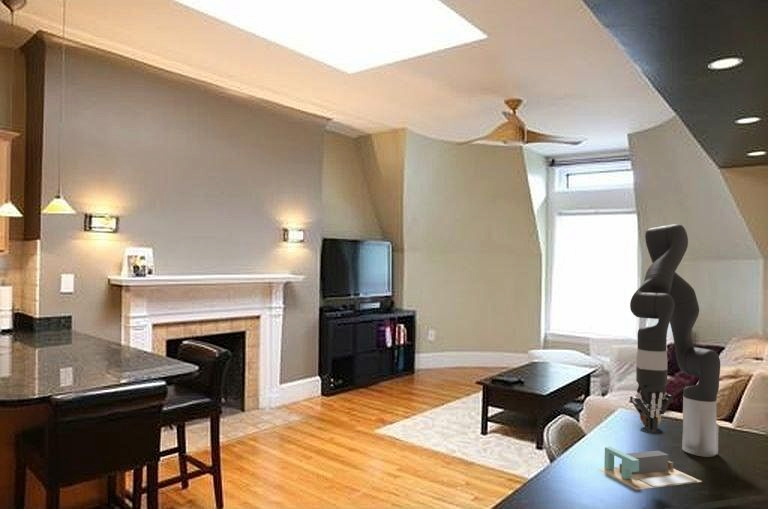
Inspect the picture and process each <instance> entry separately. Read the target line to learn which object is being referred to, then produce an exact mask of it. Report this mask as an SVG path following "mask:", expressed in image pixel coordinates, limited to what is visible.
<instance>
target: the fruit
mask: <svg viewBox="0 0 768 509" xmlns="http://www.w3.org/2000/svg"><path fill="white" fill-rule="evenodd" d="M637 412H638V411H637ZM648 412H649V409H648ZM638 413H639V412H638ZM639 418H640V420H641V422H642V424H643V426H644V427H645V415H643V414H640V413H639ZM661 421H662V414H661V415H659V417H658V426H659V425H660V423H661Z"/></svg>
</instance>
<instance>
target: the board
mask: <svg viewBox="0 0 768 509" xmlns="http://www.w3.org/2000/svg"><path fill="white" fill-rule="evenodd" d="M598 470H599V471H601V472H603V473H605V475H608V476H610V477H612V478H614V479H616V480H618V481H620V482H621V483H623V484H625V485H627V486H628V487H630V488H632V489H635V490H636V491H638V490H644V489H645V490H646V489H647V490H648V489H653V488H654V489H655V488H661V487H670V486H678V485H685V484H687V485H688V484H693V483H702V482H703V481H702V480H700V479H697V478H695V477H693V476H691V475H689V474H687V473H685V472H682V471H680V470H677V469H676V468H674V462H673V461H670V460H668V471H662V472H653V473H644V474H636V475H634V474H632V478H630V479H625V478H623V477H621V475H622V462H621V463H619V466H614V469H612V470H608V469H606V468H598Z"/></svg>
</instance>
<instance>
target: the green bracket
mask: <svg viewBox="0 0 768 509" xmlns="http://www.w3.org/2000/svg"><path fill="white" fill-rule="evenodd" d="M627 454H628V453H625V452H623V451H621V450H618V449H617V448H614V447H612V446H605V447H604V465H603V466H604V468H606V469H608V470H612V469H614V467H615V457H617V458H619V459H620V460H621V463H622V475H621V477H623V478H625V479H630V478H632V472H638V471H639V460H638V459H636V458H634V457H632V456H630V455H627ZM604 468H603V469H604Z"/></svg>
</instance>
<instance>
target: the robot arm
mask: <svg viewBox="0 0 768 509" xmlns="http://www.w3.org/2000/svg"><path fill="white" fill-rule="evenodd" d="M644 234H645V235H644V239H645V240H644V241H645V245H646V247H647V248H646V249H647V252H648V254H649V257H650V260H651V263H652V264H651V265H649V267H648V268H647V270H646V273H645V276H644V279H643V283H642V284H641V285H640V286H639V287H638V289H636V291H635V292H634V293H633V295H632V297H631V299H630V302H629V308H630V311H631V313H632V314H633V315H634V316H635V317H636V318H640V319H641V318H642V319H651V320H652V319H654V320H655V319H656V320H657V323H656V324H655V325H652V326H651V325H650V326H643V327H639V328H638V330H637V351H636V362H635V363H636V367H635V369H636V371H635V372H636V374H635V375H636V376H635V377H636V378H635V380H636V383H637V385H638V387H637V390H636V394H635V395H634V396H632V395H631V396H630V397H629V400H630V402H631V403H632V404H633V406H634V408H635V409H636V411H637V412H639V413H640V414H643V415H645V426H644V427H645V429H646V431H649V432H653V433H654V432H657V430H658V426H659V425H658V417H659V415H661V416H662V415H665V412H666V411H667V410H668V407H669V406H670V404H671V402H672V401H673V398H674V397H673V395H671V394H669V393H667V389H666V386H667V385H668V354H667V353H668V352H667V337H668V330H669V325H670V328H671V329H670V330H671V333H672V337H673V342H674V349H675V356H676V361H677V365H678V367H679V370H680V371H681V372H682V373H684V374H686V375H688V376H692V377H697V378H698V381H697V382H698V383H696V384H694V385H688V386H685V387H683V392H682V395H683V396H682V398H683V399H682V436H681V437H682V444H681V446H682V447H681V449H682V451H683V452H686V453H688V454H690V455H694V456H699V457H704V458H712V457H715V456H717V455H719V423H717V399H718V398H717V397H718V393H719V389H720V375H721V358H720V356H719V354H718V352H717V351H715V350H713V349H708V348H701V347H696V346H695V345H694V342H693V339H692V331H693V327H695V323H696V322H697V319H698V318H699V314H700V306H699V301H698V298H697V296H696V295H697V294H696V291H695V290H694V288H693V287H692V285H691V284H689V282H687V281H686V280H685V279H684V278H683V277H682V276H680V275H679V274H678V273H677V272H676V270H677V269H678V267H679V265H680V263H681V262H682V260H683V258H684V256H685V254H686V252H687V250H688V246H689V239H688V238H689V237H688V233H687V231H686V228H685V227H684V225H682V224H679V223H676V224H674V223H673V224H667V225H662V226H656V227H651V228H648V229H647V230H646V232H645V233H644ZM648 409H649V412H648ZM640 414H639V415H640Z"/></svg>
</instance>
